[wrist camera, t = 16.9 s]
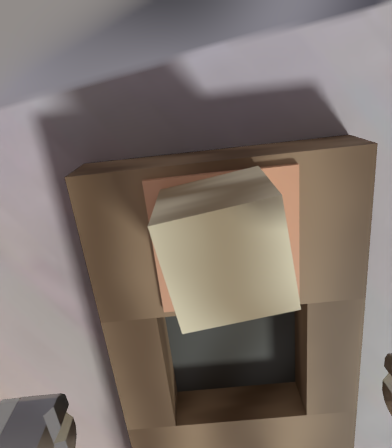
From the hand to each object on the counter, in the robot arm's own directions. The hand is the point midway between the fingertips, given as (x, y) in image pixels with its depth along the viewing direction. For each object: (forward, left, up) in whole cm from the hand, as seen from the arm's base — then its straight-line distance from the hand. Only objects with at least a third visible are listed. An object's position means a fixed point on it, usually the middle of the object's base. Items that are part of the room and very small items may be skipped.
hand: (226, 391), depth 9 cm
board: (+1, -14, -12) cm, 18 cm away
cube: (+1, +1, -9) cm, 9 cm away
